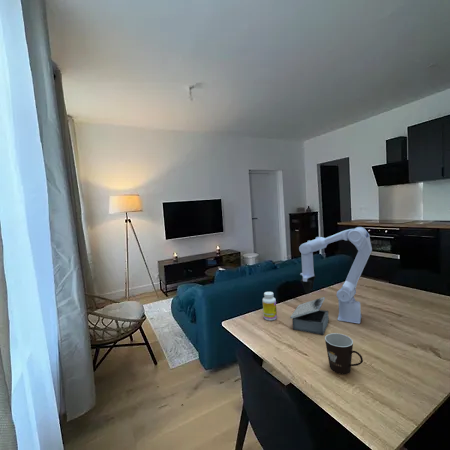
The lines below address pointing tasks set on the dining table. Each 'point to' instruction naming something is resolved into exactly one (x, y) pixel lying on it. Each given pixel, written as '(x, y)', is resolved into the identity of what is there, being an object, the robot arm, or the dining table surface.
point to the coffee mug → (340, 353)
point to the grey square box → (312, 322)
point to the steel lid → (308, 307)
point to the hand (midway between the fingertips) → (309, 291)
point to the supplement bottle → (269, 306)
